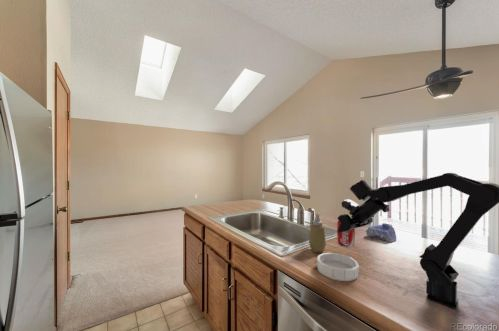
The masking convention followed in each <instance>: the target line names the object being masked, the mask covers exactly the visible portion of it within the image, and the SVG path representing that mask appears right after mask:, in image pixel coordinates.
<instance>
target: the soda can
mask: <svg viewBox="0 0 499 331" xmlns="http://www.w3.org/2000/svg"><path fill="white" fill-rule="evenodd" d="M336 223H337V224H336V225H337V226H336V240H337V245H339V246H340V247H341V248H343V249H344V248H345V249H351V248H353V247H355V243H356V238H355V237H356V230H355V229H356V228H354V229H353V230H350V231H344V232H340V233H339V232H338V231H337V230H338V228H339V226H340V224H341V223H340V221H339V220H338V219H337V222H336Z"/></svg>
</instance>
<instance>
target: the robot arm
mask: <svg viewBox="0 0 499 331" xmlns="http://www.w3.org/2000/svg"><path fill="white" fill-rule="evenodd" d="M444 187H450V188H452V189H453V190H456V191H458V192H460V193H463V194H465V195H467V200H466V203H465V206H464V209H463V211H462V212H461V213H460V215H459V216H458V217H457V219H456V220H455V221H454V223H453V224H452V225H451V227H450V228H449V230H448V231H447V233H446V234H445V235H444V236H443V237H442V239H441V240H440V242H439V243H438V244H437V246H436V245H435V244H433V243H431V244H429V245H428V246H427V247H425V249H424V251H423V253H422V254H421V255H419V258H420V259H419V260H420V261H419V264H420V267H421V269H422V270H423V271H424V272H425V274H426V276H427V279H426V283H425V284H426V285H425V286H426V287H425V288H426V292H425V293H426V294H427V296H426V298H427V299H428V300H431V301H433V302H436V303H439V304H441V305H444V306H447V307H449V308H452V309H455V310H456V309H457V306H458V301H459V298H458V281H455V280H457V278H458V276H459V272H458V271H457V270H455V269H456V268H454V267H453V266H452V265H451V262H452V259H453V257H454V254H455V251H456V250H457V249H458V247H460V245H461V244H462V242H464V240H465V239H466V237H468V235H469V233H470V232H471V231H472V230H473V228H474V227H475V226H476V225H477V223H478V222H479V221H480V220H481V218H482V217H483V216H484V215H485V214H487V213H488V212H489V211H490V210H492V209H493V208H494V207H495V206H497V205H498V204H499V184H497V183H493V182H485V183H483V182H480V181H478V180H475V179H471V178H468V177H464V176H461V175H460V174H459V175H458V174H457V173H456V172H447V173H443V174H441V175H437V176H433V177H430V178H429V177H428V178H425V179H420V180H417V181H413V182H408V183H405V184H399V185H389V186H387V185H386V186H380V187H378V188H374V189H373V188H372V187H370V185H369V184H368V183H367V182H366V181H365V179H361V180H360V181H358V182H356V183H355V184H352V185H351V186H350V187H349V190H350V192H351V193H352V194H353V195H354V196H355V197H356V198H357V199H358V200H359V201H361V200H362V201H363V203H362V204H359V203H357V202H355V201H354V200H352V199H350V198H346V199H344V200H342V202H341V203H340V204H341V207H342V208H344V209H345V210H347V211H349V212H348V213H349V214H350V215H349V214H348V213H344V214H340V215H339V216H338V217H337V221H338V220H339V221H340V223H341V224H340V226H339V228H338V230H337V229H336V232H337V231H338V232H339V233H340V232H344V231H350V230H353V229H354V228H355V229H357V228H362V227H364V226H369V225H370V224H372V223H373V222H374V221H373V218H374V217H375V215H376V214H378V213H379V212H380V211H383V213H388V212H390V205H389V204H386V203H389V202H395V201H397V200H400V199H402V198H404V197H406V196H409V195H413V194H417V193H423V192H425V191H426V192H427V191H432V190H435V189H440V188H444Z"/></svg>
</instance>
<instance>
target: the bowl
mask: <svg viewBox="0 0 499 331" xmlns="http://www.w3.org/2000/svg"><path fill="white" fill-rule="evenodd" d="M316 263H317V264H316V267H317V270H318V272H319V274H321V275H323V277H326V278H329V279H331V280H334V281H338V282H339V281H340V282H352V281H355V280H357V279H358V278H359V275H360V265H359V262H358V261H357V260H356V259H354V258H353V257H351V256H349V255H346V254H342V253H336V252H324V253H323V252H321V254H320V253H319V255H317V262H316Z"/></svg>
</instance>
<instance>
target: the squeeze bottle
mask: <svg viewBox="0 0 499 331" xmlns="http://www.w3.org/2000/svg"><path fill="white" fill-rule="evenodd" d="M308 242H309V243H308V244H309V246H310V250H311V251H312V252H315V253H323V252H325V248H326V246H327V241H326V230H325V226H324V225H323V221H322V220H321V218H320V214H319V213H316V214H315V219H314V220H312V224H311V225H310V230H309V238H308Z"/></svg>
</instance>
